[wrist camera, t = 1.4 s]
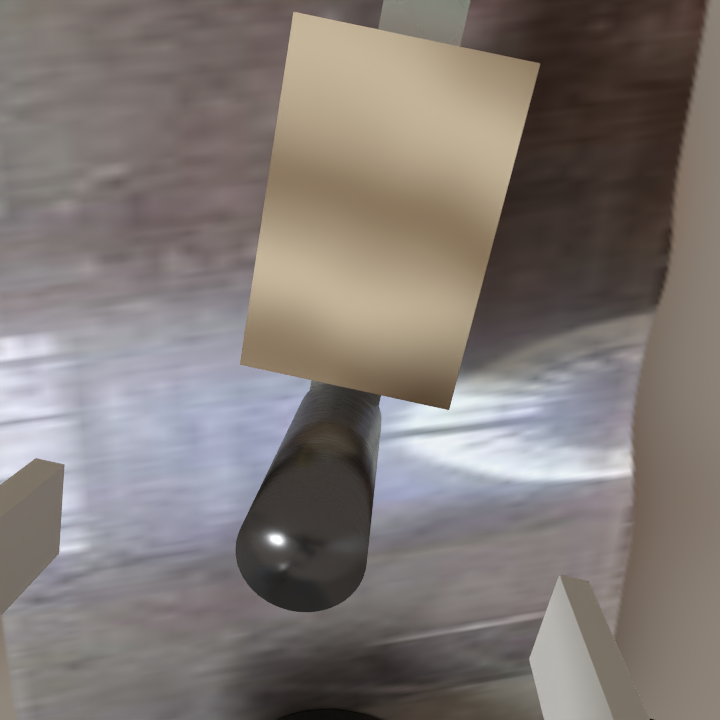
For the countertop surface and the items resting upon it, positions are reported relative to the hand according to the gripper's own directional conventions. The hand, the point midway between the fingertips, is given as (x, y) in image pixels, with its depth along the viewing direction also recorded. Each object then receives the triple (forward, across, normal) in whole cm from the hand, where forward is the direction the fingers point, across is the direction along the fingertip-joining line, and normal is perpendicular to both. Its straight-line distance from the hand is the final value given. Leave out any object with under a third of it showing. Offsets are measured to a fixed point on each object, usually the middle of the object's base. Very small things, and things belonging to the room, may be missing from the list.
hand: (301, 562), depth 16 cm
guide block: (+19, 0, -8) cm, 21 cm away
